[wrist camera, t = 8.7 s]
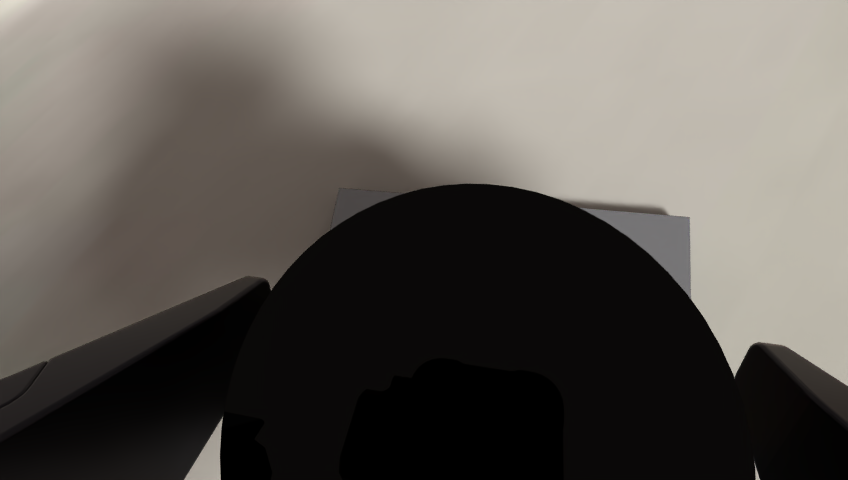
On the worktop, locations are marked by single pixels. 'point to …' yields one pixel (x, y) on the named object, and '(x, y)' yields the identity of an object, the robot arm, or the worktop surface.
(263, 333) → the supplement container
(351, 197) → the plate
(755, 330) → the worktop surface
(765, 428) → the robot arm
